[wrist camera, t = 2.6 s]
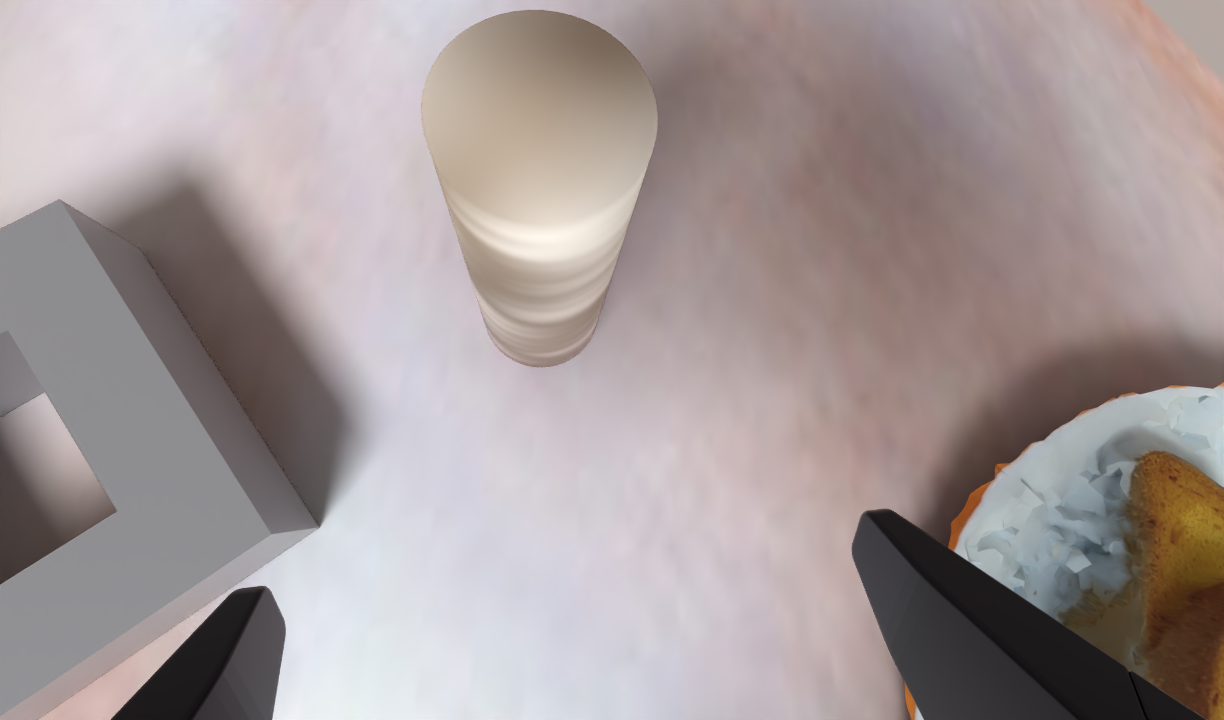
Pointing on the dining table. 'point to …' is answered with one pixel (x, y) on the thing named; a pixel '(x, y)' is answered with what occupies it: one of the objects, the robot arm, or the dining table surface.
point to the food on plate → (1119, 536)
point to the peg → (539, 170)
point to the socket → (124, 460)
